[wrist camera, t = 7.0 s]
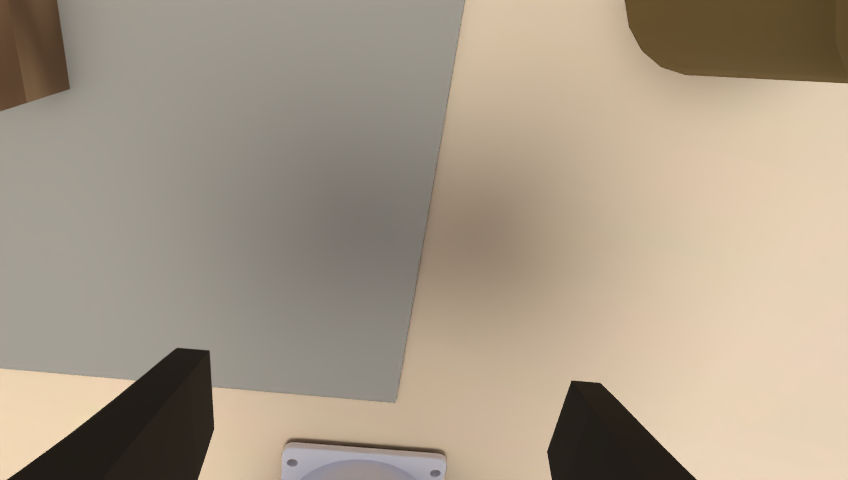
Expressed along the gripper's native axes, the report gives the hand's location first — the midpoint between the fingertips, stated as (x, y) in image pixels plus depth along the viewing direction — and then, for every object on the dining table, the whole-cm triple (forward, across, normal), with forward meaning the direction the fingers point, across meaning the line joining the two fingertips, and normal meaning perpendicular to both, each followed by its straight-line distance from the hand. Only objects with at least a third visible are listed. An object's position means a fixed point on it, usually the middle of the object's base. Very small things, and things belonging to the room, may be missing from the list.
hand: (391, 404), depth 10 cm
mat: (+10, +9, 0) cm, 14 cm away
